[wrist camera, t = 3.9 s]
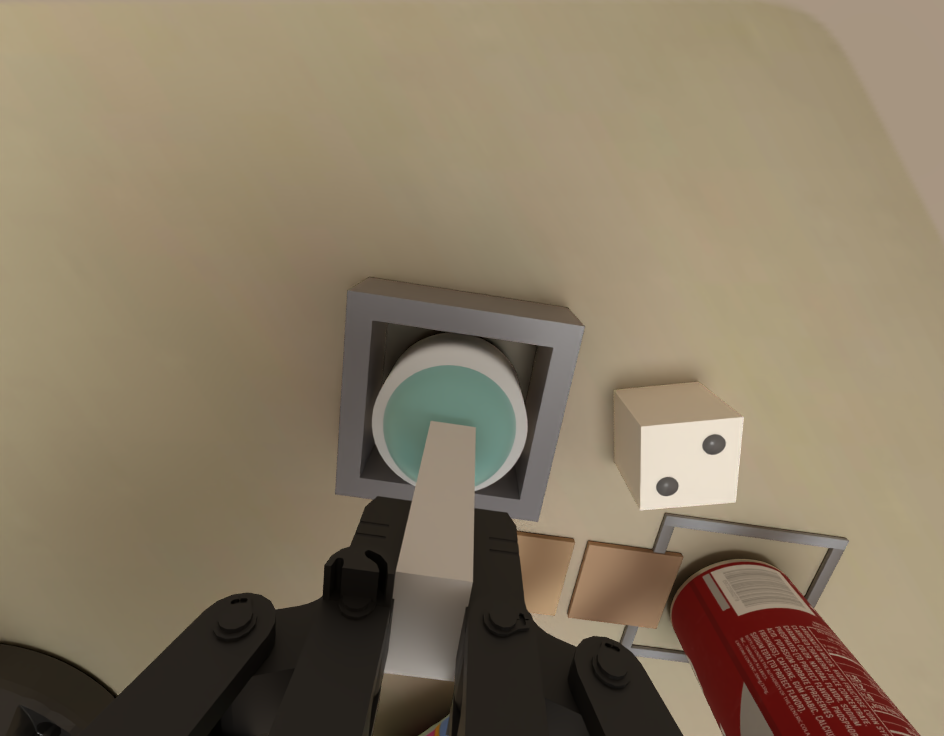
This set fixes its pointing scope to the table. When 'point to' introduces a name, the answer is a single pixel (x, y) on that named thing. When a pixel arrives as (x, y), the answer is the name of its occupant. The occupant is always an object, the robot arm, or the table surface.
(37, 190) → the table surface
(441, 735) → the lunch box
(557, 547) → the track
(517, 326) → the dome housing
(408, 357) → the dome
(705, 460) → the die
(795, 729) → the soda can
